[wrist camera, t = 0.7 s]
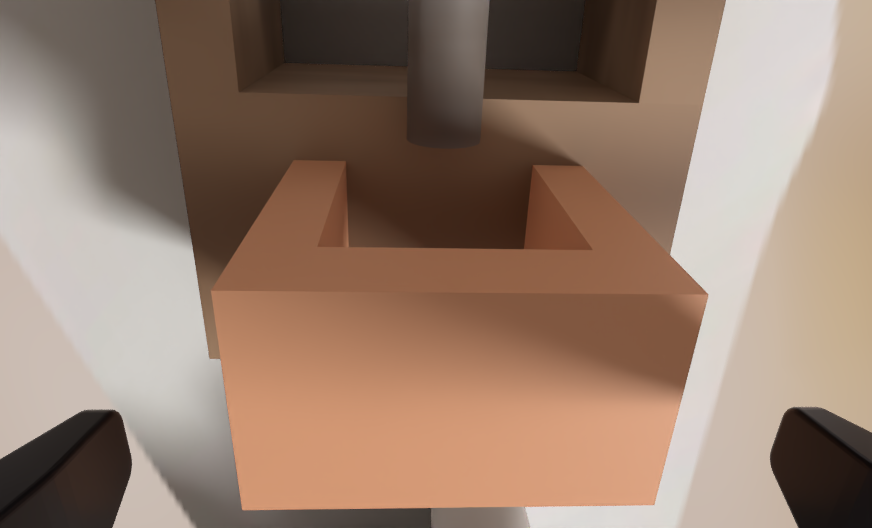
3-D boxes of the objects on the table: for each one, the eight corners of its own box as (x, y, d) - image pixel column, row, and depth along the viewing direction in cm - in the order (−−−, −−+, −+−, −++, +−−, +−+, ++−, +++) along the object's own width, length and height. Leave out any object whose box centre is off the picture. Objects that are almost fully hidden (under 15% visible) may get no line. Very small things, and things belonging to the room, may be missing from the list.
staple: (582, 166, 14) (708, 294, 8) (561, 312, 16) (654, 505, 10) (294, 160, 14) (210, 290, 8) (304, 310, 15) (242, 509, 10)
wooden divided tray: (590, 273, 22) (669, 394, 15) (256, 269, 21) (190, 395, 14) (684, -303, 15) (896, -523, 8) (192, -336, 14) (15, -603, 8)
